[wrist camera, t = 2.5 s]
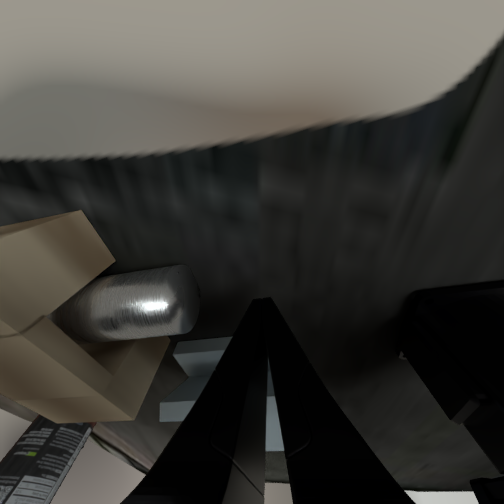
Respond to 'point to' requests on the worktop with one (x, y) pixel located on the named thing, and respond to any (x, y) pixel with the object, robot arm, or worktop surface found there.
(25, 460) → the supplement bottle
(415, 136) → the worktop surface
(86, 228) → the beam
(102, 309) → the axle
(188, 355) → the v block
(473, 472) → the worktop surface
